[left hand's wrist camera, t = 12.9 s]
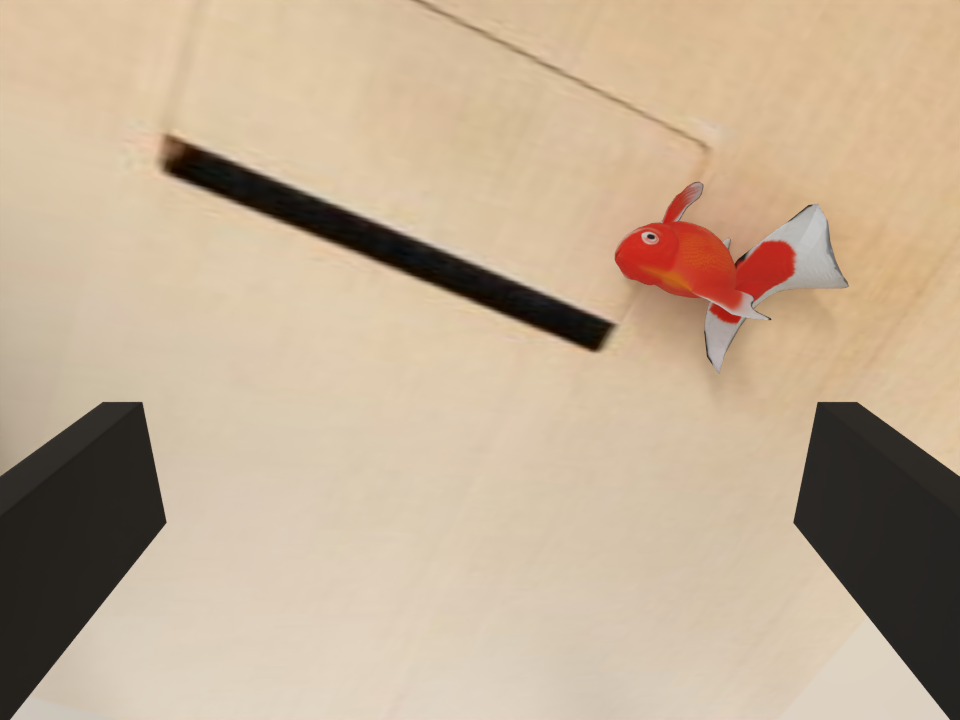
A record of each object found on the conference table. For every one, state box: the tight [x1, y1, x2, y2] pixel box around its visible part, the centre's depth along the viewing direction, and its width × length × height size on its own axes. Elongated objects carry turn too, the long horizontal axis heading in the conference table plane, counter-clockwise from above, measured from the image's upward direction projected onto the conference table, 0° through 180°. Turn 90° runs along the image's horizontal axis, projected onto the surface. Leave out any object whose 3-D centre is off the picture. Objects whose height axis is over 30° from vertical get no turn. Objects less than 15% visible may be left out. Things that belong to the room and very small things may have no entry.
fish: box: [615, 182, 849, 373], centre depth 39 cm, size 11×16×10 cm
